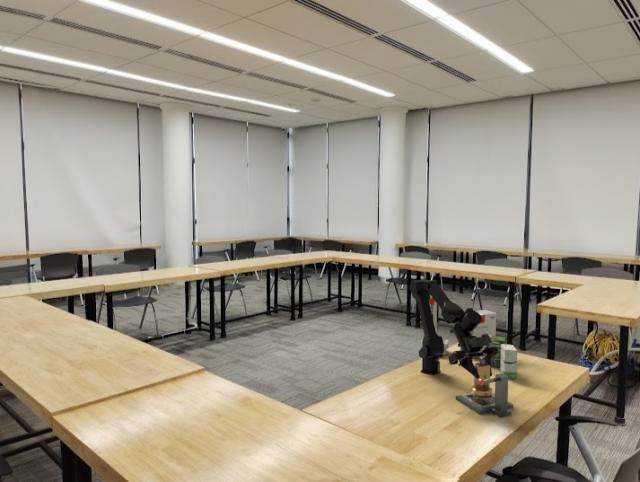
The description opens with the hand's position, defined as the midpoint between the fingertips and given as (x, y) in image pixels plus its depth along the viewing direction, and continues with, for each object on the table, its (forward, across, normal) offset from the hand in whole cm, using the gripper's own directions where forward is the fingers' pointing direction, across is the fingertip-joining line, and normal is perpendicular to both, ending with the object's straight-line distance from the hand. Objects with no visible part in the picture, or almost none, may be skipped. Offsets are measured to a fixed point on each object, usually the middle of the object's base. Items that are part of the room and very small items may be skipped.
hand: (484, 377), depth 156 cm
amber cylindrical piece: (+4, 0, +6) cm, 7 cm away
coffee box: (-13, +30, +27) cm, 43 cm away
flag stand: (-32, +17, +46) cm, 58 cm away
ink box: (-6, +28, +20) cm, 35 cm away
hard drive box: (-24, +34, +39) cm, 57 cm away
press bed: (+8, -1, +5) cm, 10 cm away
